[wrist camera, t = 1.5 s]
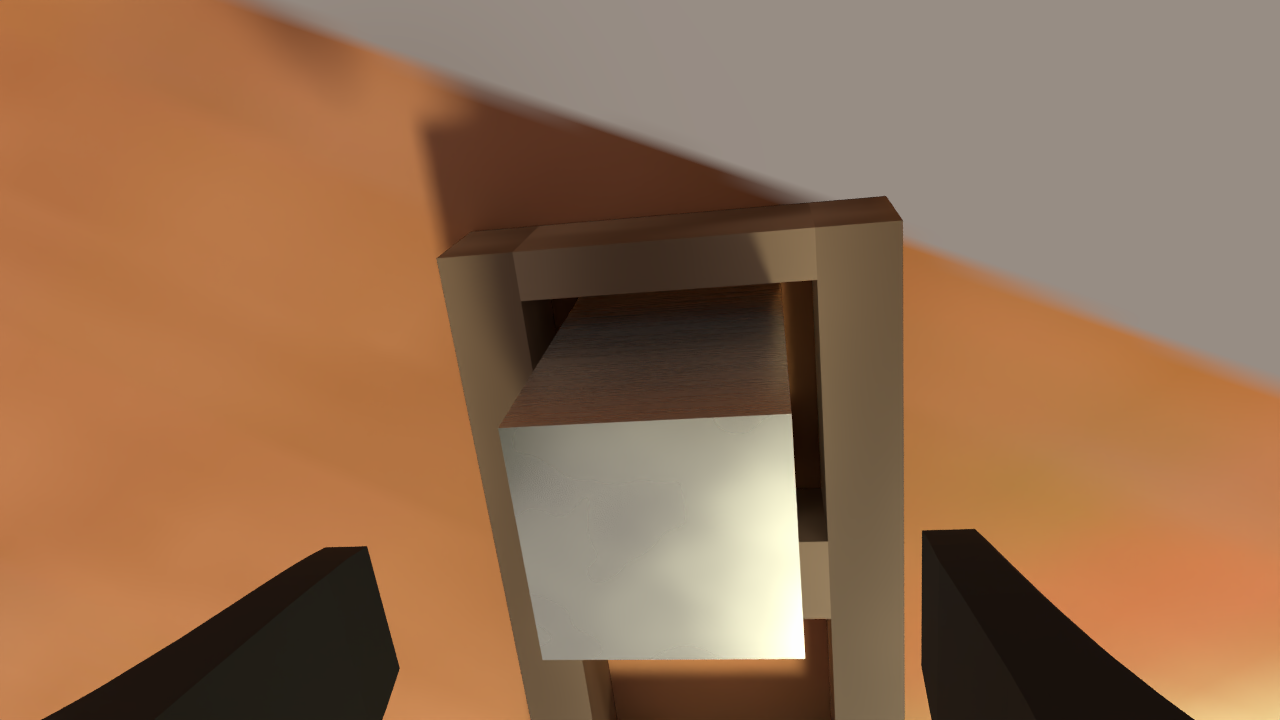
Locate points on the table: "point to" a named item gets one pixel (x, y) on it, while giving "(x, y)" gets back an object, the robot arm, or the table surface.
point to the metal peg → (660, 479)
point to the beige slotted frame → (846, 398)
